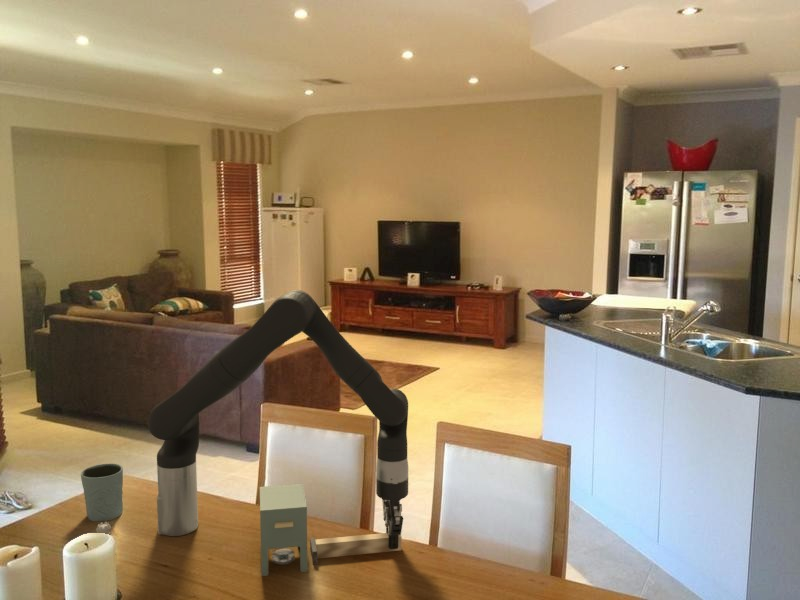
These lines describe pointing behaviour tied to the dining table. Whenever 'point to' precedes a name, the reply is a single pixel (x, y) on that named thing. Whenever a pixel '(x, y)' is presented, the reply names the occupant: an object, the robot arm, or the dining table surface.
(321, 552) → the beige bar
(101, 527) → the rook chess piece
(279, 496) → the cabinet
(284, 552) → the steel token
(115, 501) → the grey green cup
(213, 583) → the dining table surface
